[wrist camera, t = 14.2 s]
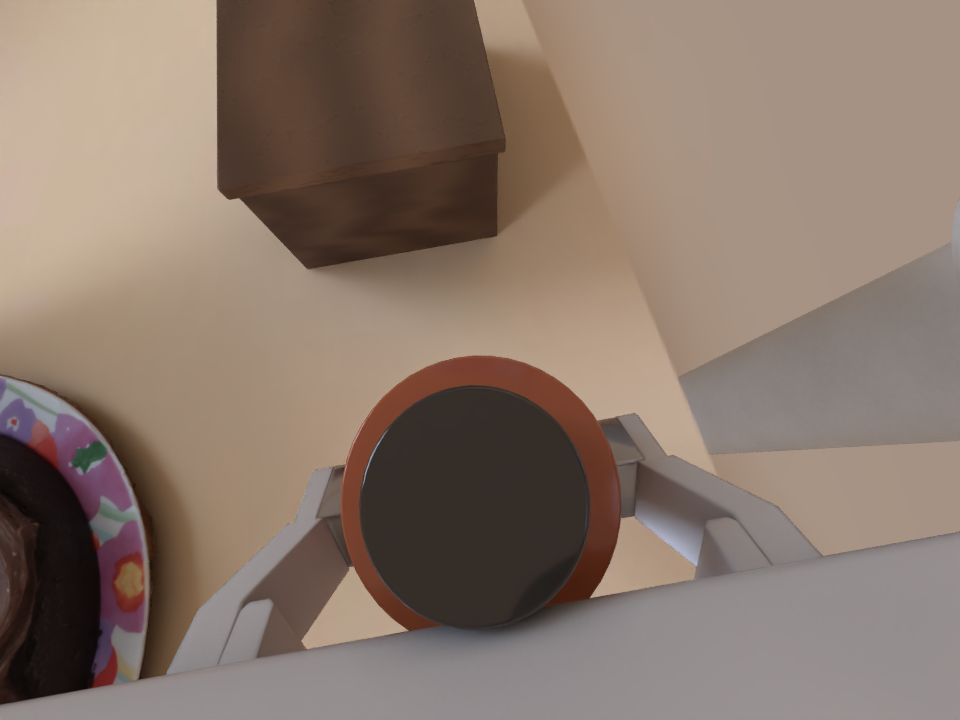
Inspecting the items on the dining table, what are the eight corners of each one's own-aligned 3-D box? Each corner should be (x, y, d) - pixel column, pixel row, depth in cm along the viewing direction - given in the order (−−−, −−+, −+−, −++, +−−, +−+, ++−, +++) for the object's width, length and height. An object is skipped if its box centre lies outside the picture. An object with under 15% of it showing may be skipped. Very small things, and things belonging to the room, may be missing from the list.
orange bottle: (538, 402, 17) (613, 292, 6) (566, 535, 16) (721, 685, 5) (415, 424, 17) (277, 351, 6) (432, 559, 15) (294, 763, 5)
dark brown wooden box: (463, 39, 29) (451, -114, 22) (506, 239, 25) (510, 138, 17) (289, 69, 29) (215, -74, 22) (302, 274, 25) (216, 189, 17)
